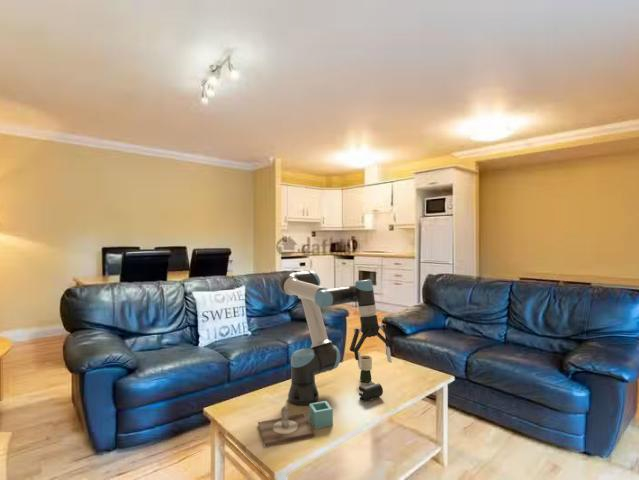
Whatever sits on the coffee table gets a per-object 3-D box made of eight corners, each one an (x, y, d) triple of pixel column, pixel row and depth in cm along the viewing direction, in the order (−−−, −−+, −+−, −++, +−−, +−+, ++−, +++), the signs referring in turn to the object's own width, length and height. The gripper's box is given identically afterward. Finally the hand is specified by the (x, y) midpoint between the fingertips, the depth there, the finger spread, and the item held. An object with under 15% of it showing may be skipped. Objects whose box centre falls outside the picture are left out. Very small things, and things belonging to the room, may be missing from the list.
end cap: (367, 404, 169) (367, 390, 169) (358, 398, 175) (358, 385, 175) (383, 398, 175) (383, 385, 174) (373, 393, 181) (373, 380, 180)
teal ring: (309, 419, 156) (309, 403, 156) (326, 416, 159) (326, 400, 159) (315, 428, 149) (314, 412, 149) (332, 425, 151) (332, 409, 151)
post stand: (258, 425, 152) (257, 402, 152) (303, 417, 159) (302, 394, 158) (264, 446, 137) (264, 421, 137) (314, 436, 144) (313, 411, 143)
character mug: (366, 375, 202) (365, 353, 202) (376, 379, 198) (376, 356, 197) (354, 382, 194) (354, 358, 194) (365, 385, 190) (364, 361, 189)
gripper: (343, 319, 150) (349, 371, 148) (398, 311, 155) (405, 361, 153) (338, 318, 157) (345, 367, 155) (391, 310, 163) (398, 358, 160)
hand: (375, 364), depth 154 cm, fingers open, 13 cm apart
